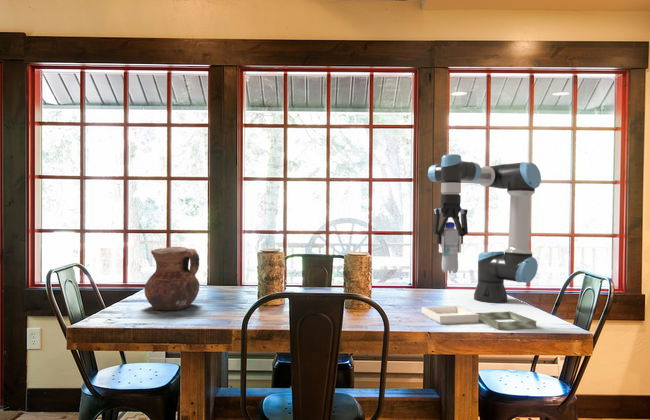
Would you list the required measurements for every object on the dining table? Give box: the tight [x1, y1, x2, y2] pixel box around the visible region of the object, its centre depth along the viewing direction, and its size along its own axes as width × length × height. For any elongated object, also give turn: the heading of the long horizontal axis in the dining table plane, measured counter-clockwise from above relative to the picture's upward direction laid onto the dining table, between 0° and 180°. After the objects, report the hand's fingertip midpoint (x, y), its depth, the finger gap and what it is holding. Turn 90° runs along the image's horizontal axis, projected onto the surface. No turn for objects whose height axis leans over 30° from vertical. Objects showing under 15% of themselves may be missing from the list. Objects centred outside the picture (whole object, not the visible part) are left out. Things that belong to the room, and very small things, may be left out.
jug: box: [143, 246, 200, 311], centre depth 193 cm, size 22×21×25 cm
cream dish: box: [421, 305, 480, 325], centre depth 179 cm, size 16×16×3 cm
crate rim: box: [475, 310, 537, 331], centre depth 172 cm, size 16×16×2 cm
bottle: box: [441, 221, 459, 274], centre depth 179 cm, size 7×7×20 cm
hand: (449, 252), depth 179 cm, fingers closed on bottle, 7 cm apart
